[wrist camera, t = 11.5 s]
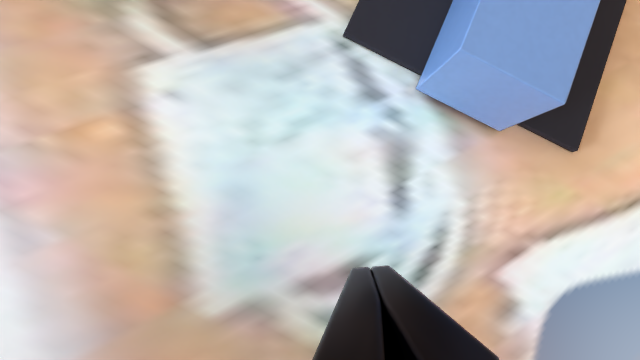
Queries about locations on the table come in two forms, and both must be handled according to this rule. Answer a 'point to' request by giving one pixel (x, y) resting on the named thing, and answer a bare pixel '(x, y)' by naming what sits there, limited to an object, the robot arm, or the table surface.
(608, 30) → the rubber mat
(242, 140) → the table surface
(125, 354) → the table surface
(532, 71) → the blue block
